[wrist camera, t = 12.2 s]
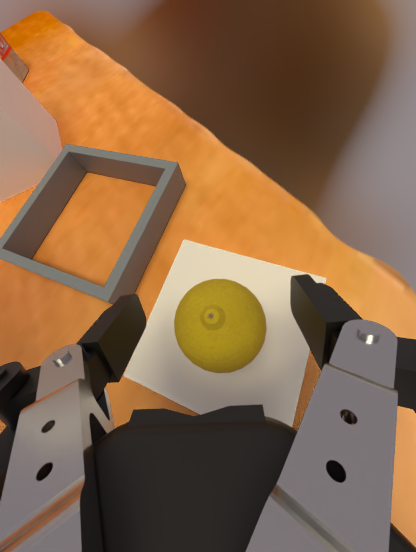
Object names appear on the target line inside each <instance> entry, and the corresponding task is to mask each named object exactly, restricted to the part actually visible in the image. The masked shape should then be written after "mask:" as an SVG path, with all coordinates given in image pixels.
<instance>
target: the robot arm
mask: <svg viewBox="0 0 416 552" xmlns="http://www.w3.org/2000/svg"><path fill="white" fill-rule="evenodd" d="M290 306H291V311H292V314H293V317H294V318H295V320H296V322H297V324H298V326H299V328H300V330H301V332H302V334H303V336H304V338H305V340H306V342H307V344H308V346H309V348H310V350H311V352H312V354H313V356H314V358H315V360H316V362H317V364H318V366H319V367H320V369H321V371H322V372H321V374H320V377H319V379H318V382H317V384H316V387H315V389H314V392H313V394H312V397H311V399H310V402H309V404H308V407H307V409H306V412H305V414H304V417H303V419H302V422H301V424H300V427H299V429H298V431H297V430H295V429H294V428H292V427H291V426H289V425H287V424H285V423H283V422H281V421H279V420H276V419H274V418H270V417H267V416H265V415H264V409H263V404H261V405H237V406H227V407H224V408H220V409H217V410H214V411H211V412H208V413H205V414H202V415H198V416H190V415H186V414H182V413H178V412H175V411H171V410H167V409H141V410H133V413H132V415H131V418H130V421H129V422H128V423H125V424H123V425H121V426H119V427H117V428H115V425H114V420H113V415H112V411H111V406H110V402H109V397H108V393H107V390H106V389H105V386H106V385H107V383H111V382H119V381H120V379H121V377H122V375H123V373H124V371H125V369H126V367H127V365H128V363H129V361H130V359H131V357H132V355H133V353H134V351H135V349H136V347H137V345H138V343H139V341H140V339H141V337H142V335H143V333H144V331H145V328H146V316H145V314H144V311H143V308H142V305H141V303H140V300H139V297H138V296H137V295H136V294H129V295H122V296H120V297H119V298H118V299H117V301H116V302H115V303H114V304H113V305H112V306H111V307H110V308H108V309H107V310H106V311H104V312H103V313H102V314H101V316H100V317H99V318H98V320H96V321H95V323H94V324H93V325H92V326H91V327H90V328H89V330H88V331H87V332H86V333H85V334H84V335H83V337H82V338H81V339H80V340H79V341H78V342H77V344H73V345H68V346H65V347H63V348H61V349H59V350H57V351H55V352H54V353H52V354H51V355H50V356H49V357H48V358H47V359H46V360H45V361H44V362H43V363H42V365H41V366H38V367H35V368H32V369H29V370H25V368H24V367H23V366H22V365H21V363H20V362H11V363H8V364H5V365H3V366H0V420H1V421H2V422H3V423H4V424H5V425H6V426H7V427H6V428H5V429H4V430H3V432H2V433H1V434H0V501H1V502H0V552H416V547H415V546H414V545H413V544H412V543H411V542H410V541H409V540H408V539H407V538H406V537H405V536H404V535H403V534H402V533H401V532H400V531H399V530H398V529H397V528H396V527H395V526H394V525H393V524H392V523H391V522H390V520H391V503H392V487H393V470H394V454H395V437H396V421H397V406H401V407H405V408H410V409H413V410H414V411H415V413H416V340H415V339H407V338H400V337H396V336H395V334H394V333H393V332H392V331H391V330H390V329H388V328H387V327H385V326H383V325H381V324H378V323H376V322H372V321H368V320H363V319H362V318H361V317H360V316H359V315H358V314H357V313H356V312H355V311H354V310H353V309H352V308H351V307H350V306H349V305H348V304H347V303H346V302H345V301H343V299H342V298H341V297H340V296H339V295H338V294H337V293H336V292H335V290H334V289H333V288H331V287H329V286H327V285H325V284H323V283H316V282H315V281H314V280H313V278H312V277H311V276H310V275H309V274H303V275H295V276H291V281H290Z"/></svg>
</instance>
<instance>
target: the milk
mask: <svg viewBox="0 0 416 552" xmlns="http://www.w3.org/2000/svg"><path fill="white" fill-rule="evenodd" d="M61 151H62V145H61V141H60V136H59V131H58V127H57V122H56V120H55V119H54V118H53V117H52V116H51V115H50V113H49V112H48V111H47V110H46V109H45V108H44V107H43V106H42V105H41V103H40V102H39V101H38V100H37V99H36V98H35V97H34V96H33V94H32V93H31V92H30V91H29V90H28V89H27V88H26V87H25V86H24V84H23V83H22V82H21V81H20V80H19V79H18V78H17V77H16V76H15V74H14V73H13V72H12V71H11V70H10V69H9V68H8V67H7V65H6V64H5V63H4V62H3V61H2V60H1V59H0V203H1V202H3V201H5V200H7V199H9V198H11V197H13V196H15V195H17V194H20V193H22V192H24V191H26V190H28V189H30V188H32V187H34V186H36V185H38V184H39V183H40V181H41V180H42V178H43V177H44V176H45V174H46V173H47V171H48V170H49V168H50V167H51V165H52V164H53V163H54V161H55V160H56V158H57V157H58V155H59V154H60V153H61Z"/></svg>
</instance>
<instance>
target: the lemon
mask: <svg viewBox="0 0 416 552" xmlns="http://www.w3.org/2000/svg"><path fill="white" fill-rule="evenodd" d="M174 330H175V336H176V339H177V342H178V345H179V347H180V349H181V350H182V352H183V353H184V355H185V356H186V357H187V358H188V359H189V360H190V361H191V362H192V363H193V364H194V365H196V366H198V367H200V368H202V369H203V370H205V371H210V372H214V373H230V372H233V371H236V370H239V369H242V368H243V367H245V366H246V365H248V364H249V363H251V362H252V361H253V360H254V358H255V357H256V356H257V355H258V353H259V352H260V350H261V348H262V346H263V344H264V341H265V336H266V330H267V328H266V317H265V314H264V311H263V308H262V305H261V304H260V302H259V301H258V299H257V298H256V296H255V295H254V294H253V293H252V292H251V291H250V290H248V289H247V288H246V287H245V286H243V285H241V284H239V283H237V282H235V281H231V280H227V279H211V280H207V281H203V282H201V283H199V284H197V285H195V286H194V287H193V288H191V289H190V290H189V291H188V292H187V293H186V294H185V295H184V297H183V298H182V299H181V301H180V303H179V305H178V307H177V310H176V313H175V319H174Z"/></svg>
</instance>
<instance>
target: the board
mask: <svg viewBox="0 0 416 552" xmlns="http://www.w3.org/2000/svg"><path fill="white" fill-rule="evenodd" d="M303 274H309V273H305V272H302V271H298V270H294V269H291V268H287V267H283V266H280V265H276V264H272V263H269V262H265V261H261V260H258V259H254V258H250V257H247V256H243V255H239V254H236V253H232V252H228V251H225V250H221V249H217V248H214V247H210V246H206V245H203V244H199V243H195V242H192V241H188V240H183V242H182V244H181V246H180V249H179V251H178V253H177V255H176V258H175V260H174V262H173V265H172V267H171V269H170V271H169V274H168V276H167V278H166V280H165V283H164V285H163V287H162V289H161V292H160V294H159V296H158V298H157V301H156V303H155V305H154V308H153V310H152V312H151V314H150V317H149V319H148V321H147V323H146V328H145V331H144V333H143V335H142V337H141V339H140V341H139V343H138V345H137V347H136V349H135V351H134V353H133V355H132V357H131V360H130V362H129V364H128V366H127V369H126V371H125V373H124V375H123V376H125V377H127V378H129V379H131V380H133V381H135V382H137V383H139V384H141V385H142V386H144V387H146V388H148V389H150V390H152V391H154V392H156V393H158V394H160V395H162V396H164V397H166V398H168V399H170V400H172V401H174V402H176V403H178V404H180V405H182V406H184V407H186V408H188V409H190V410H192V411H194V412H196V413H198V414H200V415H202V414H205V413H208V412H211V411H214V410H217V409H220V408H224V407H227V406H237V405H261V404H263V409H264V415H265V416H267V417H270V418H274V419H276V420H279V421H281V422H283V423H285V424H287V425H289V426H291V427H292V426H293V421H294V417H295V412H296V408H297V404H298V399H299V395H300V391H301V386H302V382H303V378H304V373H305V369H306V365H307V360H308V356H309V351H310V348H309V346H308V344H307V342H306V340H305V338H304V336H303V334H302V332H301V330H300V328H299V326H298V324H297V322H296V320H295V318H294V317H293V314H292V311H291V306H290V281H291V276H295V275H303ZM309 275H310V276H311V277H312V278H313V280H314V281H315V282H316V283H323V284H325V282H326V278H324V277H320V276H316V275H313V274H309ZM211 279H227V280H231V281H235V282H237V283H239V284H241V285H243V286H245V287H246V288H247V289H248V290H250V291H251V292H252V293H253V294H254V295H255V296H256V298H257V299H258V301H259V302H260V304H261V305H262V308H263V311H264V314H265V317H266V328H267V330H266V336H265V341H264V344H263V346H262V348H261V350H260V352H259V353H258V355H257V356H256V357H255V358H254V360H253V361H252V362H251V363H249V364H248V365H246V366H245V367H243V368H242V369H239V370H236V371H233V372H230V373H214V372H210V371H205V370H203V369H202V368H200V367H198V366H196V365H194V364H193V363H192V362H191V361H190V360H189V359H188V358H187V357H186V356H185V355H184V353H183V352H182V350H181V349H180V347H179V345H178V342H177V339H176V336H175V330H174V319H175V313H176V310H177V307H178V305H179V303H180V301H181V299H182V298H183V297H184V295H185V294H186V293H187V292H188V291H189V290H190V289H191V288H193V287H194V286H195V285H197V284H199V283H201V282H203V281H207V280H211Z"/></svg>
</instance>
